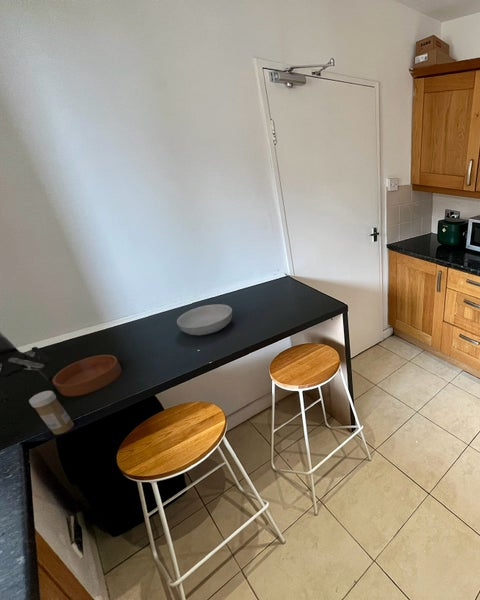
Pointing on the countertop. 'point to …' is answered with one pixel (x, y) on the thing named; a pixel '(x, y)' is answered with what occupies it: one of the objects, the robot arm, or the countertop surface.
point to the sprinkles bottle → (51, 412)
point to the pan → (87, 375)
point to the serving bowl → (205, 319)
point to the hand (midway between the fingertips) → (29, 389)
